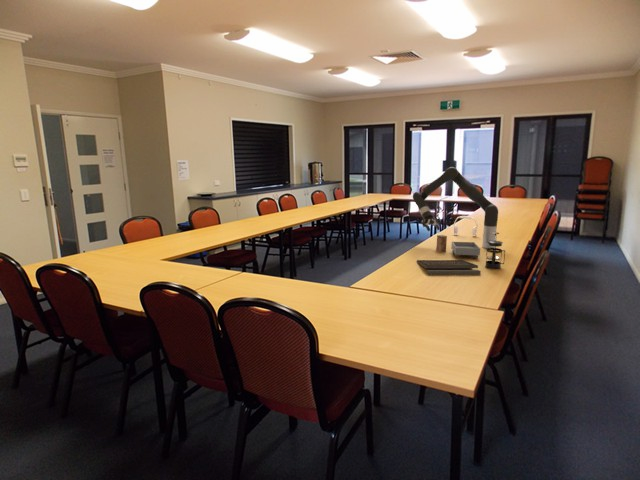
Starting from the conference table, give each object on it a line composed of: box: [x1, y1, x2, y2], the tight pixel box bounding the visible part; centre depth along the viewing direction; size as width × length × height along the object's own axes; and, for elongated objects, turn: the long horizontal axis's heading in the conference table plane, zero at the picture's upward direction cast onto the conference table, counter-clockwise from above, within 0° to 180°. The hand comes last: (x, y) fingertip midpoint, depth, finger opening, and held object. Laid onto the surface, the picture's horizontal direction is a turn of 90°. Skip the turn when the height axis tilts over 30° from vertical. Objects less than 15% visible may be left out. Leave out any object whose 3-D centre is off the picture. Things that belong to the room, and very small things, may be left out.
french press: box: [484, 231, 506, 270], centre depth 261 cm, size 12×9×23 cm
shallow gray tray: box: [451, 241, 481, 260], centre depth 293 cm, size 16×20×8 cm
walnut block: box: [435, 234, 448, 253], centre depth 306 cm, size 5×5×12 cm
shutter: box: [416, 259, 481, 277], centre depth 263 cm, size 32×7×31 cm
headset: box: [453, 215, 478, 237], centre depth 362 cm, size 20×7×18 cm, turn 64°
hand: (434, 230), depth 314 cm, fingers open, 8 cm apart
